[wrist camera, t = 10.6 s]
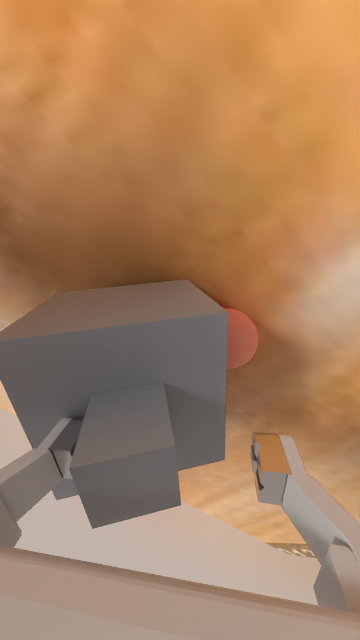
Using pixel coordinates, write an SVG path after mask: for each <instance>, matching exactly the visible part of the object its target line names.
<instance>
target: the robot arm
mask: <svg viewBox="0 0 360 640" xmlns="http://www.w3.org/2000/svg"><path fill="white" fill-rule="evenodd" d="M82 423H83V420H82V419H72V418H63V419H61V420H60V421H59V422H58V423H57V425H56V426H55V427H54V428H53V429H52V431H51V432H50V433H49V434H48V436H47V437H46V438H45V439H44V440H43V442H42V443H41V444H40V445H39V446H38V448H37V449H35V448H34V449H32V450H30V451H29V452H28V453H26V454H24V455H23V456H21V457H19V458H18V459H16V460H15V461H13V462H11V463H10V464H8V465H7V466H5V467H3V468H2V469H0V640H360V524H359V523H358V522H357V521H356V520H355V519H354V518H353V517H352V516H351V515H350V514H349V513H348V512H347V511H346V510H345V509H344V508H343V507H342V506H341V505H340V504H339V503H338V502H337V501H336V500H335V499H334V498H333V497H332V496H331V495H330V494H329V493H328V492H327V491H326V490H325V489H324V488H323V487H322V486H321V485H320V484H319V483H318V482H317V481H316V480H315V479H314V478H313V477H309V476H308V474H307V472H306V469H305V467H304V464H303V462H302V459H301V457H300V454H299V452H298V449H297V447H296V444H295V442H294V439H293V437H292V436H291V435H285V434H275V433H258V432H253V434H252V442H253V445H251V462H252V469H253V472H254V473H255V474H256V476H255V486H256V492H257V498H258V502H263V503H270V504H276V505H282V508H283V510H284V511H285V513H286V514H287V515H288V517H289V518H290V520H291V521H292V523H293V524H294V526H295V527H296V529H297V530H298V532H299V533H300V534H301V536H302V537H303V539H304V540H305V542H306V543H307V545H308V546H309V548H310V549H311V551H312V552H313V553H314V555H315V556H316V558H317V559H318V561H319V562H320V564H321V565H322V566H321V569H320V571H319V574H318V576H317V579H316V581H315V584H314V586H313V587H314V591H315V595H316V598H317V602H318V605H319V606H318V605H313V604H308V603H302V602H297V601H291V600H286V599H281V598H276V597H271V596H265V595H260V594H255V593H250V592H244V591H239V590H234V589H228V588H223V587H217V586H213V585H207V584H202V583H197V582H192V581H186V580H181V579H175V578H170V577H164V576H160V575H154V574H149V573H144V572H139V571H133V570H128V569H123V568H117V567H112V566H106V565H102V564H96V563H91V562H85V561H80V560H75V559H70V558H64V557H59V556H54V555H49V554H44V553H38V552H33V551H28V550H22V549H17V548H14V546H15V545H16V543H17V541H18V540H19V538H20V537H21V529H20V528H19V526H18V525H17V523H16V522H17V521H18V520H19V519H20V518H21V517H22V516H23V515H24V514H26V513H27V511H28V510H30V509H31V508H32V507H33V506H34V505H35V504H36V503H37V502H39V501H40V500H41V499H42V498H43V497H44V496H45V495H46V494H47V493H48V492H49V491H50V490H52V489H53V488H54V487H55V486H56V485H57V484H58V483H59V482H60V481H61V480H62V478H67V479H73V478H72V476H71V473H70V470H69V466H70V463H71V460H72V456H73V453H74V450H75V446H76V443H77V440H78V437H79V433H80V430H81V427H82Z"/></svg>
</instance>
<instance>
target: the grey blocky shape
mask: <svg viewBox="0 0 360 640" xmlns="http://www.w3.org/2000/svg"><path fill="white" fill-rule="evenodd" d="M227 329H228V311H226V310H225V309H224V308H222V307H221V306H220V305H219V304H217V303H216V302H215V301H214V300H212V299H211V298H210V297H209V296H207V295H206V294H205V293H204V292H202V291H201V290H200V289H199V288H197V287H196V286H195V285H194V284H192V283H191V282H190V281H189V280H187V279H184V280H174V281H164V282H154V283H144V284H134V285H124V286H114V287H104V288H94V289H84V290H74V291H64V292H59V293H57V294H56V295H55V296H53V297H52V298H50V299H49V300H47V301H46V302H44V303H43V304H41V305H40V306H38V307H37V308H35V309H34V310H32V311H31V312H29V313H28V314H26V315H25V316H23V317H22V318H20V319H19V320H17V321H16V322H14V323H13V324H11V325H10V326H8V327H7V328H5V329H4V330H2V331H1V332H0V380H1V382H2V384H3V386H4V388H5V390H6V392H7V395H8V397H9V399H10V401H11V403H12V405H13V407H14V410H15V412H16V414H17V416H18V418H19V420H20V423H21V425H22V427H23V429H24V431H25V433H26V435H27V438H28V440H29V442H30V444H31V446H32V448H33V449H34V448H35V449H37V448H38V446H39V445H40V444H41V443H42V442H43V440H44V439H45V438H46V437H47V436H48V434H49V433H50V432H51V431H52V429H53V428H54V427H55V426H56V425H57V423H58V422H59V421H60V420H61V419H63V418H72V419H82V420H83V423H82V427H81V430H80V433H79V437H78V440H77V443H76V446H75V450H74V453H73V456H72V460H71V463H70V466H69V470H70V473H71V476H72V478H73V479H67V478H62V480H61V481H60V482H59V483H58V484H57V485H56V486H55V487H54V488H53V489H52V491H53V494H54V496H55V498H56V500H59V499H63V498H67V497H71V496H76V495H79V496H80V498H81V501H82V504H83V506H84V509H85V511H86V514H87V516H88V519H89V521H90V524H91V526H92V528H97V527H101V526H104V525H108V524H112V523H116V522H119V521H123V520H127V519H131V518H135V517H139V516H142V515H146V514H150V513H154V512H157V511H161V510H165V509H169V508H172V507H176V506H180V505H181V499H180V490H179V480H178V471H180V470H184V469H188V468H192V467H196V466H201V465H205V464H209V463H213V462H217V461H221V460H225V417H226V373H227Z"/></svg>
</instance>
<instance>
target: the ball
mask: <svg viewBox="0 0 360 640" xmlns="http://www.w3.org/2000/svg"><path fill="white" fill-rule="evenodd" d="M224 309H225V310H226V311H228V329H227V369H234V368H238V367H241V366H243V365H244V364H246V363H247V362H249V361H250V360H251V358H252V357H253V356H254V354H255V352H256V350H257V347H258V342H259V337H258V331H257V328H256V326H255V324H254V323H253V321H252V320H251V319H250V318H249V317H248V316H247V315H246V314H244V313H243V312H241V311H239V310H236V309H231V308H224Z"/></svg>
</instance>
